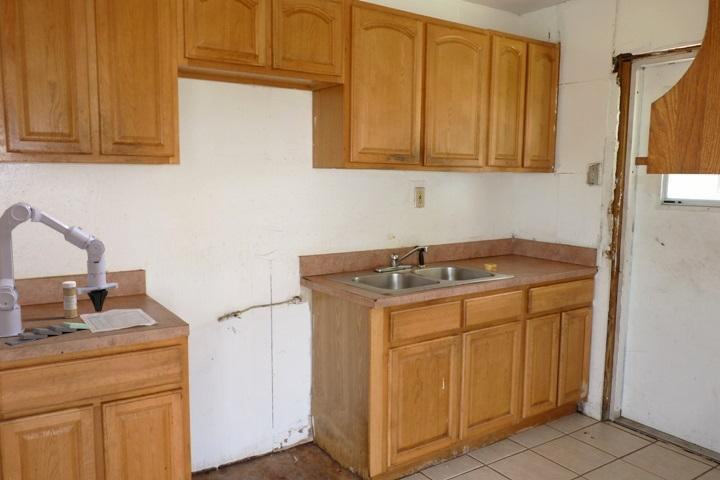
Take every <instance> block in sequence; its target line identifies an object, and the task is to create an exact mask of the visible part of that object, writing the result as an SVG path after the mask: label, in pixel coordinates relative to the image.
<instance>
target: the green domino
mask: <svg viewBox="0 0 720 480" xmlns="http://www.w3.org/2000/svg"><path fill="white" fill-rule="evenodd" d="M61 326H64V327H68V328H77V329H86V330H87V329H88V330H89V329H90V328H91V325H90V324H86V323H84V322H66V321H65V322H62V325H61Z"/></svg>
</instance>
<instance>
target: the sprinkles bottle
mask: <svg viewBox="0 0 720 480" xmlns="http://www.w3.org/2000/svg"><path fill="white" fill-rule="evenodd" d="M61 286H62V287H61V288H62V294H63V295H62V297H63V301H62V302H63V318H64V319H74V318H77V317H78V316H79V315H78V302H77V301H78V300H77V294H76V293H75V288H77V282H76V281H74V280H68V281H63V282H62V283H61Z"/></svg>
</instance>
